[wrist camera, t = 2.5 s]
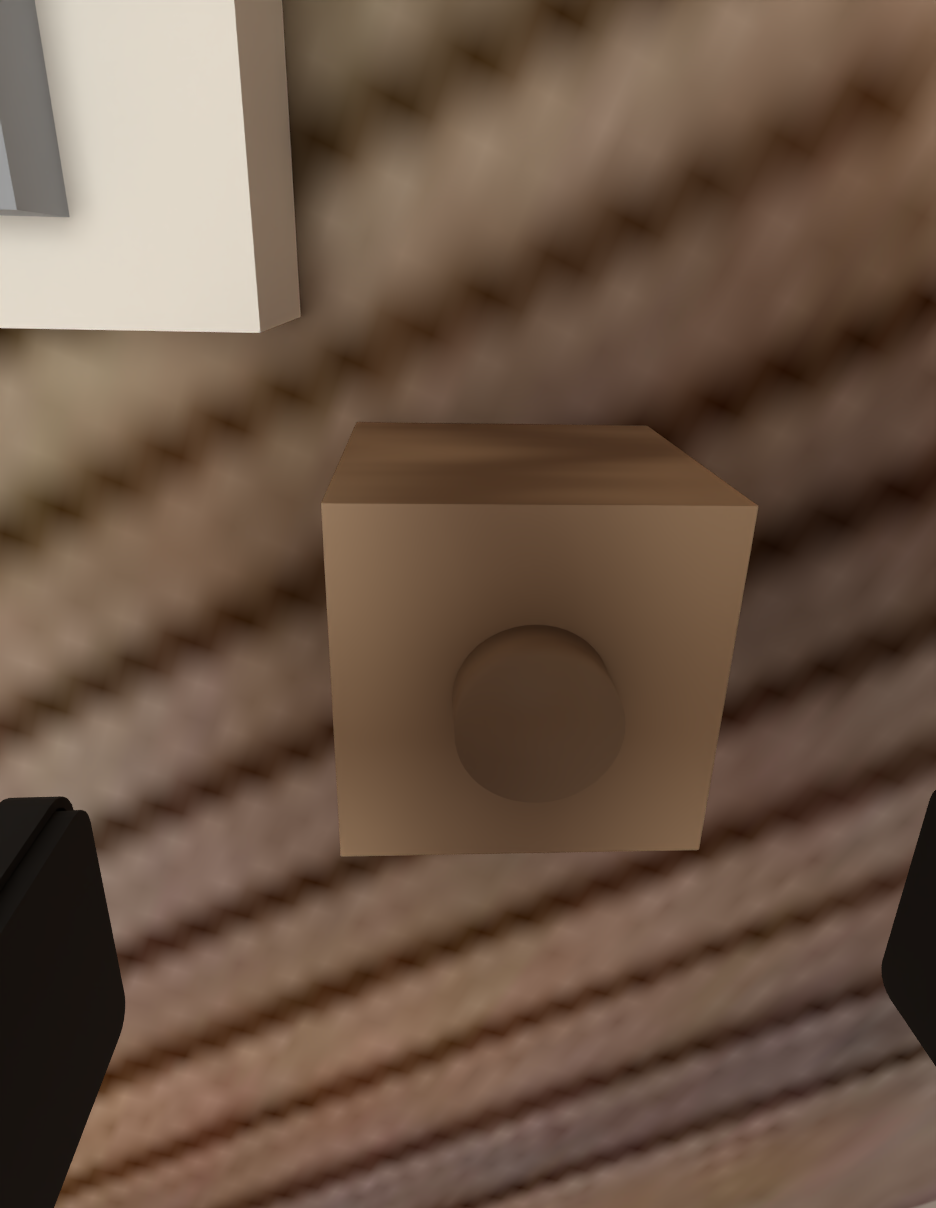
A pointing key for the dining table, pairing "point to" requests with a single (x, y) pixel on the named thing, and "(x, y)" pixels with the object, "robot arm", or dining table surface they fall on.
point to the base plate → (145, 166)
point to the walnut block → (527, 637)
